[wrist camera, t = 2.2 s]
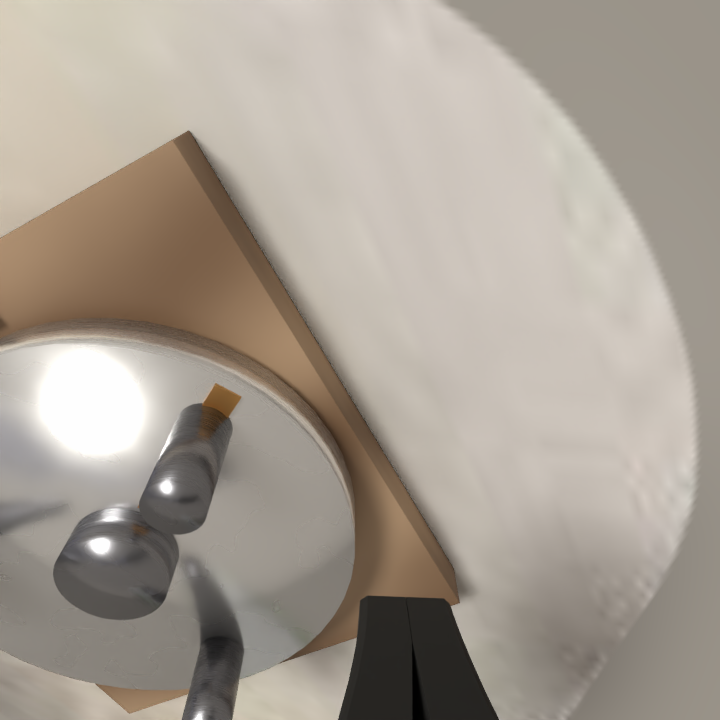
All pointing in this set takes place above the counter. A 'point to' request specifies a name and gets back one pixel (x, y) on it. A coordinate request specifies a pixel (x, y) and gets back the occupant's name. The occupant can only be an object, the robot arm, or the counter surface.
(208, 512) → the capstan dial
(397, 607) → the robot arm
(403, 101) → the counter surface
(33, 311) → the tan base board
